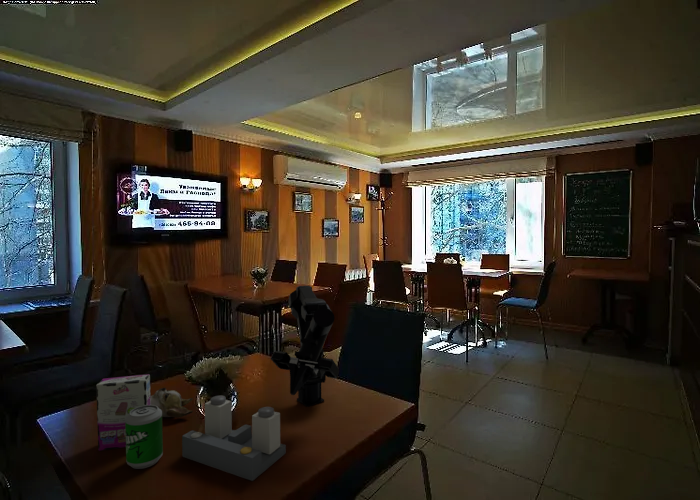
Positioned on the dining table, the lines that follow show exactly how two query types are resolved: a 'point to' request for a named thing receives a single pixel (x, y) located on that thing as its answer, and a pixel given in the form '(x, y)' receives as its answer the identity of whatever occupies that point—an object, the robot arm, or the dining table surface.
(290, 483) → the dining table surface
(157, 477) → the dining table surface
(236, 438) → the switch panel
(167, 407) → the ceramic sculpture
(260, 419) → the button
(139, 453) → the soda can
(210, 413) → the button
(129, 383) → the candy bar box
